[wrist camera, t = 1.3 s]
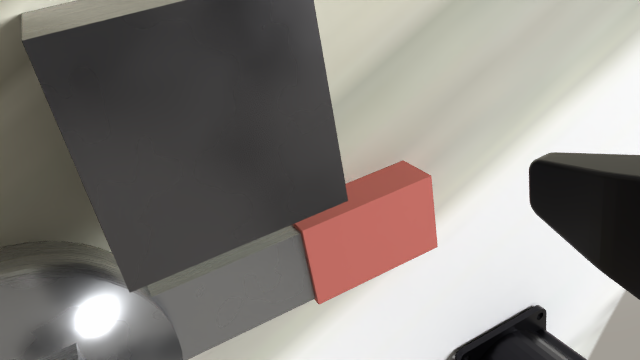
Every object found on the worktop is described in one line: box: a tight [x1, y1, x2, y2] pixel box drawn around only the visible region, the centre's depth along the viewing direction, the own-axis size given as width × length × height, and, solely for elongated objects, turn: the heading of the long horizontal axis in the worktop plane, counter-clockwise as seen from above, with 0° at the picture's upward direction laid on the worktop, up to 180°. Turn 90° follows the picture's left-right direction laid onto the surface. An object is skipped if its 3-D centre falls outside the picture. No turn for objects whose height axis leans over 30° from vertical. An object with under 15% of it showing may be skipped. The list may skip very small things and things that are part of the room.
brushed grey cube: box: [22, 0, 348, 293], centre depth 16 cm, size 6×6×6 cm
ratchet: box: [0, 161, 437, 360], centre depth 19 cm, size 20×9×6 cm, turn 101°
